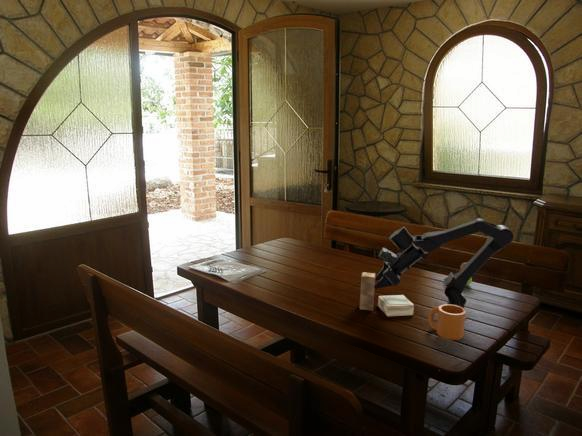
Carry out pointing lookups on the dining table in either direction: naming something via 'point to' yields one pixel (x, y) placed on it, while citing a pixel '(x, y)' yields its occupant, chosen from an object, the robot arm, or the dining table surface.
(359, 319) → the dining table surface
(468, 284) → the snail figurine
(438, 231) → the robot arm
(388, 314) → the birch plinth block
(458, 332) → the mug
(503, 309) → the dining table surface
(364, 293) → the tan wooden block
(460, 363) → the dining table surface
